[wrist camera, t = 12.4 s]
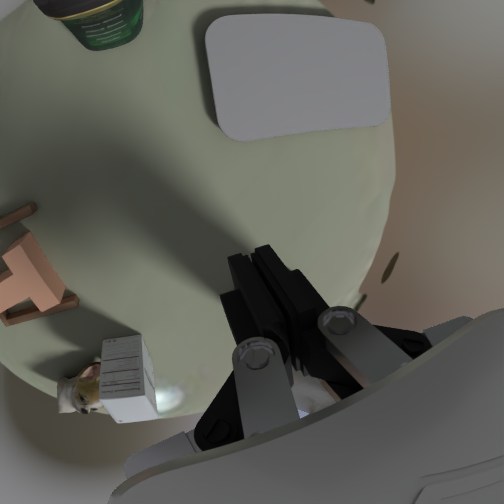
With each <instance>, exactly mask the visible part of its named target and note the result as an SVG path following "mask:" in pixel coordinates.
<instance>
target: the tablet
mask: <svg viewBox="0 0 504 504" xmlns="http://www.w3.org/2000/svg"><path fill="white" fill-rule="evenodd" d="M204 41H205V49H206V55H207V62H208V68H209V74H210V81H211V87H212V93H213V99H214V105H215V112H216V118H217V122H218V125H219V127H220V129H221V131H222V132H223V133H224V134H225V135H227V136H228V137H230V138H231V139H234V140H237V141H252V140H257V139H263V138H269V137H276V136H282V135H289V134H296V133H304V132H312V131H321V130H330V129H341V128H353V127H367V126H379V125H381V124H383V123H384V122H385V121H386V120H387V118H388V116H389V114H390V109H391V102H390V85H389V72H388V62H387V53H386V45H385V40H384V38H383V35H382V34H381V32H380V31H379V30H378V29H377V28H376V27H375V26H374V25H372V24H370V23H367V22H361V21H355V20H348V19H342V18H334V17H325V16H314V15H299V14H241V15H228V16H223V17H220V18H218V19H217V20H215V21H214V22H213V23H212V24H211V25H210V26H209V27H208V29H207V31H206V33H205V38H204Z"/></svg>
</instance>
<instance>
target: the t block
mask: <svg viewBox="0 0 504 504" xmlns="http://www.w3.org/2000/svg"><path fill="white" fill-rule="evenodd" d="M2 258H3V259H4V261H5V263H6V264H7V266H8V267H9V269H7V270H6V271H4V272H3V273H1V274H0V313H1V312H3V311H5V310H7V309H8V308H10V307H12V306H14V305H15V304H17V303H19V302H21V301H23V300H24V299H26V298H28V297H30V298H31V300H32V301H33V302H34V303H35V305H36V306H37V307H38V308H39V310H40V311H41V312H43V311H45V310H47V309H49V308H51V307H53V306H55V305H57V304H60V302H61V299H62V296H63V294H64V291H65V288H66V286H65V285H64V283H63V282H62V280H61V279H60V278H59V276H58V275H57V273H56V272H55V270H54V269H53V267H52V266H51V264H50V263H49V261H48V260H47V258H46V256H45V255H44V253H43V252H42V250H41V248H40V247H39V245H38V244H37V242H36V240H35V239H34V237H33V235H32V233H31V232H30V231H29V232H28V233H26V234H25V235H23V236H22V237H20V238H19V239H17V240H16V241H14V242H13V243H12V244H11V245H10V246H9V248H8V249H7V250H6V252H5V253H4V254H3V256H2Z"/></svg>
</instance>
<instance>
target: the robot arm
mask: <svg viewBox="0 0 504 504" xmlns="http://www.w3.org/2000/svg"><path fill="white" fill-rule="evenodd" d="M227 259H228V263H229V267H230V271H231V274H232V278H233V282H234V286H235V290H233V291H230V292H227V293H224V294H221V295H220V299H221V302H222V305H223V308H224V311H225V314H226V317H227V320H228V323H229V326H230V328H231V331H232V334H233V337H234V339H235V342H236V344H237V347H236V348H235V350H234V352H233V354H232V362H233V369H234V370H233V371H232V373H231V374H230V376H229V377H228V379H227V380H226V382H225V383H224V385H223V386H222V388H221V389H220V391H219V392H218V394H217V395H216V397H215V398H214V400H213V401H212V403H211V404H210V406H209V407H208V408H207V410H206V411H205V413H204V414H203V416H202V417H201V419H200V420H199V422H198V423H197V425H196V427H195V429H193V430H191V431H189V432H187V433H185V432H181V433H179V434H177V435H174V436H172V437H170V438H168V439H166V440H163V441H161V442H159V443H157V444H155V445H152V446H150V447H147V448H145V449H143V450H141V451H138V452H135V453H134V454H132V455H131V456H129V458H128V459H127V460H126V463H125V467H124V469H125V474H126V477H127V480H126V481H124V482H123V483H122V484H120V485H119V486H118V487H117V488H116V489H115V490H114V491H113V492H112V494H111V496H110V498H109V501H108V504H504V308H501V309H497V310H493V311H490V312H487V313H485V314H482V315H480V316H478V317H476V318H475V319H472V318H470V317H466V316H462V317H458V318H455V319H452V320H450V321H447V322H445V323H442V324H439V325H436V326H433V327H430V328H428V329H425V330H423V332H422V333H418V332H415V331H409V330H402V329H396V328H390V327H384V326H378V325H372V324H371V323H370V322H369V321H367V320H366V319H365V318H364V317H363V316H362V315H360V314H359V313H358V312H357V311H355V310H354V309H352V308H349V307H346V306H335V307H331V308H330V307H329V306H328V305H327V303H326V302H325V301H324V300H323V298H322V297H321V296H320V295H319V293H318V292H317V291H316V290H315V288H314V287H313V286H312V285H311V283H310V282H309V281H308V280H307V279H306V277H305V276H304V275H303V274H302V272H301V271H300V270H299V269H295V270H292V271H289V270H288V269H287V267H286V266H285V265H284V263H283V262H282V261H281V260H280V258H279V257H278V256H277V254H276V253H275V252H274V250H273V249H272V248H271V246H270V245H269V244H267V245H264V246H261V247H258V248H255V252H254V253H251V259H252V262H251V260H250V258H249V257H248V255H245V256H243V255H242V254H241V253H239V254H236V255H233V256H229V257H227ZM297 409H299V410H301V411H304V412H307V413H309V414H308V415H307V416H305V417H303V418H301V419H300V417H299V413H298V410H297Z"/></svg>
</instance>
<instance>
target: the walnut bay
mask: <svg viewBox="0 0 504 504" xmlns="http://www.w3.org/2000/svg"><path fill="white" fill-rule="evenodd" d="M36 210H37V209H36V206H35V203H34V202H32V203H30V204H28V205H26V206H23V207H21V208H19V209H17V210H15V211H13V212H11V213H9V214H6V215H4V216H2V217H0V229H1V228H4V227H6V226H8V225H10V224H12V223H14V222H16V221H19V220H21V219H23V218H25V217H28V216H30V215H32V214H34V213H35V212H36ZM78 305H79V299H78V297H77V295H73V296H69V297H66V298H62V299H61V302H60V304H57V305H55V306H53V307H51V308H49V309H47V310H45V311H43V312H41V311H40V310H39V308H38V307H37V306H35V307H32V308H29V309H25V310H22V311H19V312H15V313H12V314H9V313H8V312H7V310H5V311H3V312H1V313H0V319H1V320H2V322H3V323H4V325H5V326H6V327H7V326H10V325H14V324H18V323H21V322H25V321H28V320H32V319H36V318H39V317H43V316H47V315H50V314H54V313H57V312H61V311H65V310H68V309H72V308H75V307H78Z"/></svg>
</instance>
